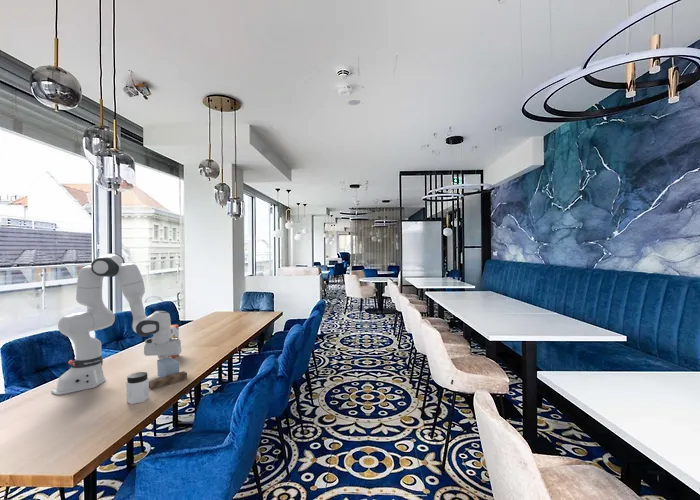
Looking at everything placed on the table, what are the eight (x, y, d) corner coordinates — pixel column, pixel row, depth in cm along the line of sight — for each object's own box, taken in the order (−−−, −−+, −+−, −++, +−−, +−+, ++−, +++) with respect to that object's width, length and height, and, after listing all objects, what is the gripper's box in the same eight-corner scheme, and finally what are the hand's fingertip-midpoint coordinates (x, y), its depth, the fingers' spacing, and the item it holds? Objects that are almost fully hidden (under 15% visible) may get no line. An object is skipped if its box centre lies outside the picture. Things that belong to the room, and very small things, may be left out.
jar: (123, 401, 161) (123, 376, 161) (141, 395, 168) (140, 370, 168) (134, 405, 157) (133, 379, 157) (152, 398, 164) (151, 373, 164)
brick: (165, 382, 185) (165, 365, 185) (157, 375, 195) (157, 359, 195) (179, 378, 190) (179, 362, 190) (170, 372, 200) (170, 357, 200)
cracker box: (168, 361, 221) (167, 329, 221) (159, 361, 221) (158, 329, 221) (179, 355, 235) (179, 324, 235) (171, 355, 235) (170, 324, 235)
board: (151, 389, 175) (151, 382, 175) (148, 388, 177) (148, 381, 177) (187, 379, 189) (187, 372, 189) (183, 377, 191) (183, 371, 191)
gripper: (183, 336, 202) (183, 360, 202) (148, 337, 202) (149, 361, 202) (177, 339, 196) (178, 363, 196) (141, 340, 196) (142, 364, 196)
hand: (163, 362), depth 199 cm, fingers closed
